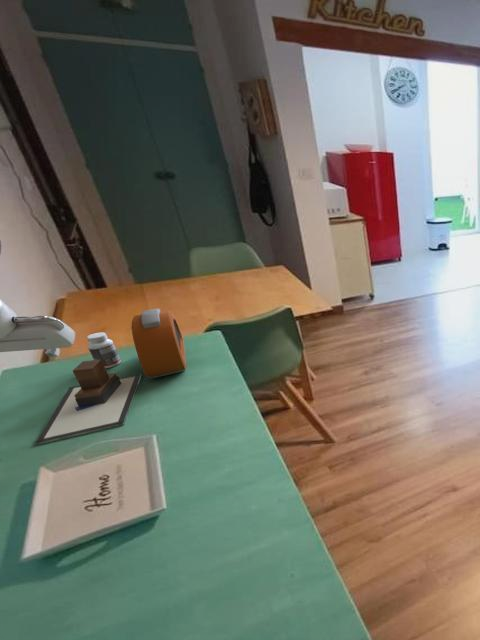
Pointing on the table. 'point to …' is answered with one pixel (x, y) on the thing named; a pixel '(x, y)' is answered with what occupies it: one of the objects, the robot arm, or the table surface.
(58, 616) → the table surface
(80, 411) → the whiteboard
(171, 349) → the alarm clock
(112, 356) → the pill bottle
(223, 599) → the table surface
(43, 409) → the table surface
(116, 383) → the eraser
